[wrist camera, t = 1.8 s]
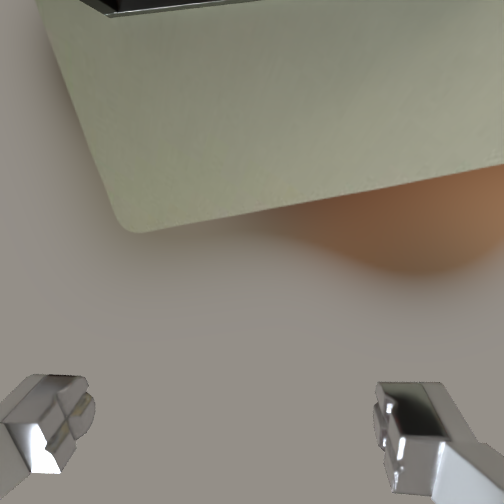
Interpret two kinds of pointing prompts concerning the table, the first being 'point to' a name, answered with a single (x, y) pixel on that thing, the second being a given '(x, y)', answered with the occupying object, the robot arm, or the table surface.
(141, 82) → the table surface
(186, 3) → the toaster oven
